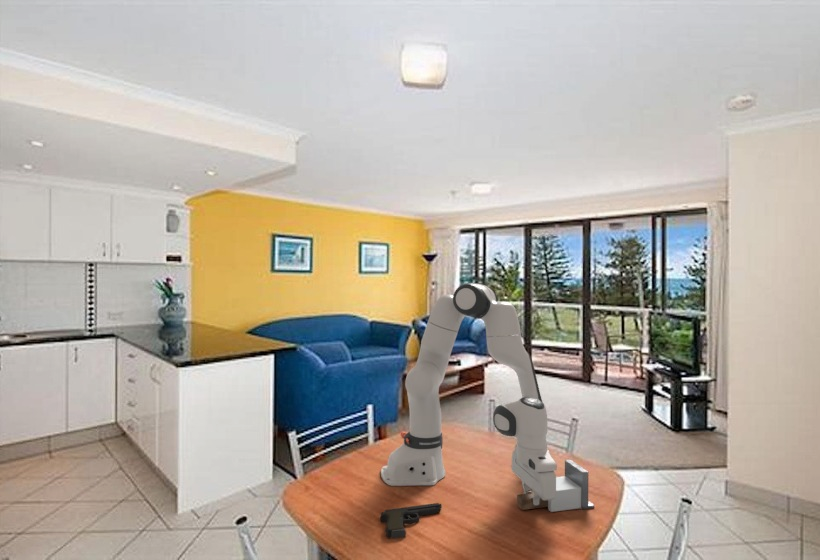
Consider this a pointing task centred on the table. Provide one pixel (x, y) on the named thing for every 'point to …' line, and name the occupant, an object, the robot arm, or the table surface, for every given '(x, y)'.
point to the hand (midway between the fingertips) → (531, 500)
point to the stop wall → (579, 481)
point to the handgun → (405, 518)
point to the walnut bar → (529, 502)
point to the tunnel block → (565, 495)
